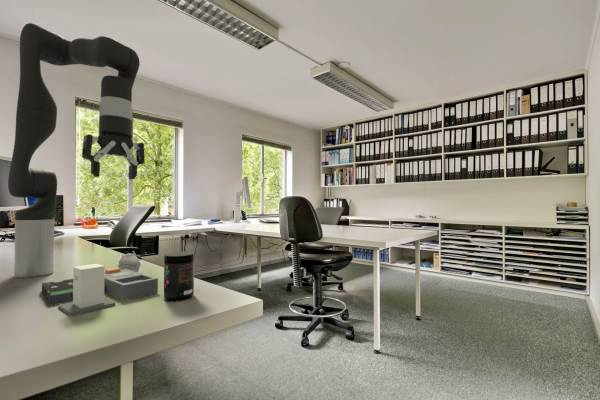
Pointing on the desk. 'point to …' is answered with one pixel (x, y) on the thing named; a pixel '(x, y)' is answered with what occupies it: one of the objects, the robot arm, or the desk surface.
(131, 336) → the desk surface
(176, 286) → the supplement container
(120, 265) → the frog figurine
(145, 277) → the desk organizer
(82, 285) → the charger
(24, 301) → the desk surface
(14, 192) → the robot arm
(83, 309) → the mat
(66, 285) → the disk drive
